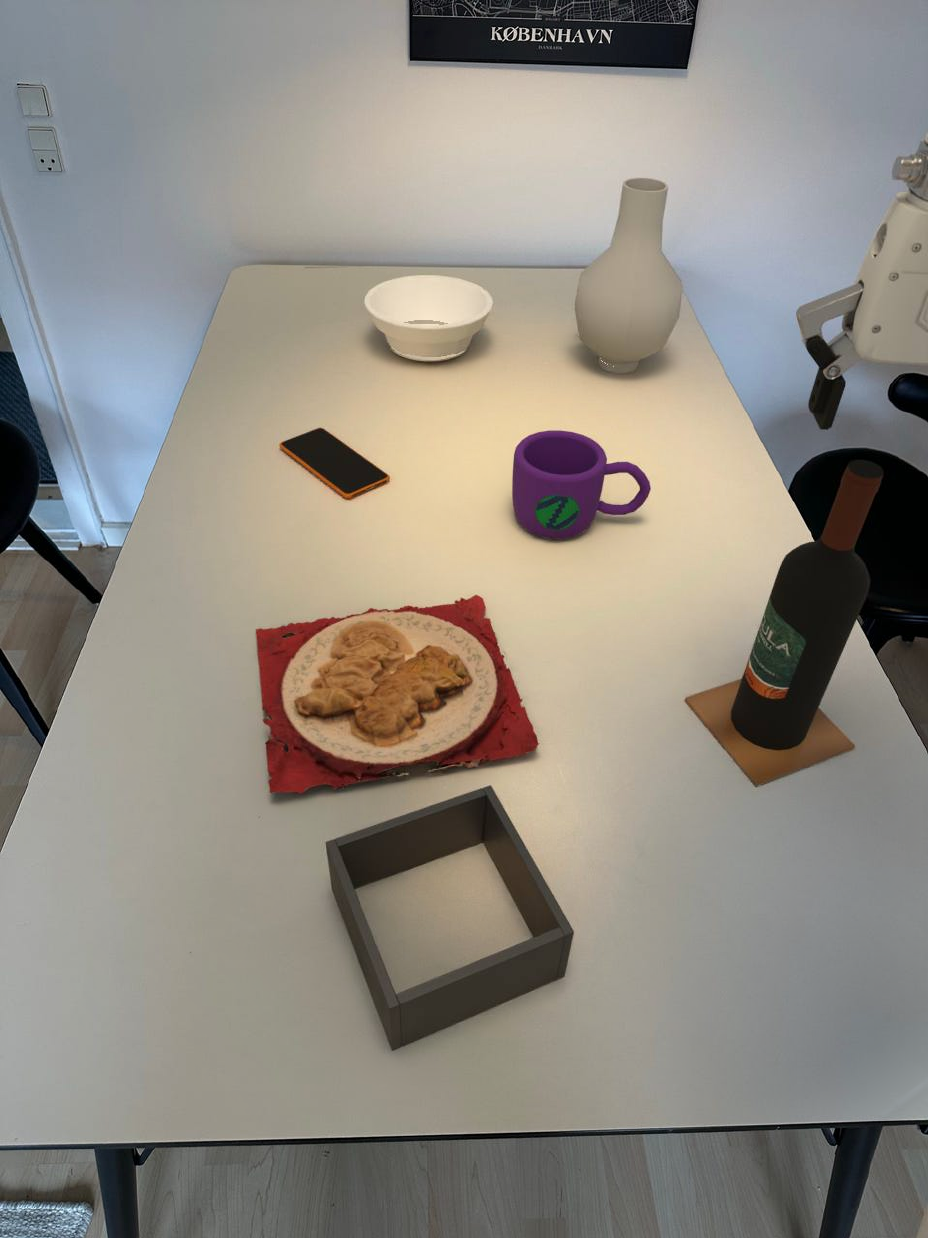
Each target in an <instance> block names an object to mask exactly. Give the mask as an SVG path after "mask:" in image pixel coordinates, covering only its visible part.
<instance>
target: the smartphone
mask: <svg viewBox="0 0 928 1238" xmlns="http://www.w3.org/2000/svg"><path fill="white" fill-rule="evenodd" d="M278 446H279V448H280V449H281V450H282V451H284V452H285V453H287V455H289V456H290V457H292V458H293V459H294V460H295V461H297V462H298V463H299V464H301V465H302V466H303V467H304V468H306V469H307V470H309V472H310V473H312V474H314V475H315V476H316V477H318V478H319V479H320V480H321V481H322V482H324V483H325V484H327V486H329V487H330V488H332V489H333V490H335V491H336V492H337V493H338V494H339V495H341V496H342V497H343V498H346V499H351V498H354V497H356V496H358V495H360V494H363V493H364V492H367V491H369V490H371V489H374V488H377V487H379V486H380V485H383V484H385V483H387V482H389V481H390V480H391V476H390V474H388V473H387V472H385V471H384V470H382V469H381V468H380V467H378V466H377V465H375V464H374V463H373V462H371V461H370V460H368V458H366V457H365V456H363V455H362V454H360V453H359V452H357V451H356V450H354V449H353V448H352V447H350V446H349V445H348V444H346V443H345V442H343V440H341V439H339V438H338V437H336V436H335V435H333V434H332V433H331V432H330V431H328V430H326V429H325V428H323V427H317V428H314V429H312V430H309V431H307V432H304V433H302V434H299V435H297V436H294V437H291V438H288V439H286V440H284V441H283V440H282V441H281V442H280V443H279V444H278Z"/></svg>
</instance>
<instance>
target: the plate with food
mask: <svg viewBox="0 0 928 1238" xmlns="http://www.w3.org/2000/svg"><path fill="white" fill-rule="evenodd" d="M486 610H487V607H486V604H485V601H484V597H481V596H480V595H478V594H475V595H472V596H471V597H469V598H467V599H465V597H460V600H458V599H456V600H454V603H447V604H439V605H432V606H425V607H419V606H412V605H404V606H401V607H400V608H396V609H388V608H383V609H378V608H377V609H376V608H373V607H370V608H368V610H367V611H364V612H362V613H355V614H354V613H353V614H349V615H346V616H345V617H334V616H331V617H330V618H327V617H322V618H317V619H315V620H314V621H312V622H310V621H305V622H296V623H294V622H290V623H288V624H287V625H281V626H278V627H273V628H272V627H270V628H261V627H260V628H255V637H256V647H257V649H256V651H257V657H258V667H259V668H258V670H259V679H260V690H261V691H260V692H261V693H260V694H261V702H262V703H261V704H262V711H264V712H265V713H266V714H267V715H268V716H269V717H270V719H269V718H263V719H262V722H263V724H265V725H267V726H269V731H270V732H269V735H270V738H268V740H266V741H265V751H266V764H267V772H268V775H269V777H270V779H269V780H268V787H269V788H268V789H269V790H268V791H269V793H271V794H272V793H282V794H283V793H294V792H295V793H297V794H303V793H304V792H305V791H306V790H308V789H310V788H312V787H313V788H314V787H317V786H321V785H328V786H331V787H332V788H333V789H334V790H337V789H338V788H344V789H345V788H346V787H348V785H349V784H355V783H358V782H361V783H364V782H366V781H376V780H379V779H384V778H388V777H393V776H395V777H398V778H401V777H403V776H409V775H410V774H411V772H410V771H407V772H402V773H401V772H399V771H398V772H397V771H395V772H390V773H383V772H384V771H388V770H391V769H395V768H398V767H403V766H406V765H407V766H410V765H416V764H418V763H421V762H422V763H428V762H437V763H436V765H437V766H438V767H436V768H430V769H429V770H427V772H428V773H433V772H436V771H438V773H442V774H444V773H445V772H444V771H445V770H447V769H452V768H457V767H458V768H459V767H463V768H464V767H467V768H468V769H470V768H473V767H478V766H479V765H481V764H483V763H484V761H486V762H491V761H495V760H501V759H507V758H512V757H519V756H522V755H526V754H528V753H533V752H534V751H535V750H536V749H537V748H538V746H539V745H540V744H541V743H540V742H539V739H538V736H537V734H536V733H535V731H534V725H533V723H532V722H531V721H530V719H529V715H528V713H527V710H526V707H525V706H522V704H521V703H522V701H523V699H522V698H521V696H520V694H519V691H518V689H517V686H516V683H515V681H514V678H513V674H512V672H511V669H510V668H509V667H507V666H506V663H505V660H504V659H505V655H504V654H502V652H501V651H500V646H499V642H498V639H497V636H496V632H495V631H494V628H493V625H492V621H491V618H488V617H483V616H484V614H485V612H486ZM288 634H294V635H292V636H291V635H290V636H287V637H283V636H285V635H288ZM277 741H278V742H277ZM285 745H286V746H287V748H288V749H287V750H288V751H286V750H285V749H284V746H285ZM442 770H444V771H442Z"/></svg>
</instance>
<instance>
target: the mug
mask: <svg viewBox="0 0 928 1238" xmlns="http://www.w3.org/2000/svg"><path fill="white" fill-rule="evenodd" d="M512 463H513V464H512V481H511V484H512V485H511V487H512V488H511V490H512V491H511V495H512V496H511V497H512V506H513V507H512V508H513V513H514V516H515V518H516V520H517V522H518V523H519V525H520V526H521V527H522V528H524V529H525V531H527V532H530V533H531V534H533V535H535V536H537V537H541V538H544V539H551V540H565V539H570V538H574V537H576V536H579V535H581V534H583V533H584V532H586V531H587V530H588V529H589V527H590V526H591V525H592V523H593V522H594V520H595V518H596V515H597V513H598V512H599V513H602V514H606V515H609V516H625V515H629V514H632V513H635V512H636V511H637V510H638V509H640V508H641V507H642V506H643V505H644V503H645V502H646V501H647V500H648V497H649V495H650V493H651V490H652V486H651V482H650V480H649V478H648V476H647V475H646V473H645V472H644V471H643V470H642V469H641V468H640V467H639V466H638V464H637V465H636V464H634V463H632V462H630V461H616V462H610V463H608V457H607V455H606V452H605V449H604V448H603V447H602V446H601V445H600V444H599V443H598V442H597V441H596V440H594V439H593V438H591V437H589V436H586V435H584V434H581V433H578V432H575V431H568V430H561V429H560V430H556V429H555V430H554V429H553V430H552V429H551V430H542V431H538V432H535V433H532V434H529V435H527V436H525V437H524V438H523V439H522V440H520V442H519V443H518V444H517V445H516V446H515V449H514V453H513V462H512ZM615 474H628V475H630V476H631V477H632V479H634V480H635V482H636V483H637V485H638V487H639V490H638V492H637V493H636V495H635V496H634V497H633V498H632V499H631V500H630V501H629V502H627V503H623V504H615V503H614V504H613V503H608V502H606V501H603V500H601V497H602V492H603V487H604V481H605V476H608V475H615Z"/></svg>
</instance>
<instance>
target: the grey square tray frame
mask: <svg viewBox="0 0 928 1238" xmlns="http://www.w3.org/2000/svg"><path fill="white" fill-rule="evenodd" d="M481 843H483V844H484V846H485V848H486V850H487V852H488V854H489V856H490V858H491V859H492V861H493V863H494V865H495V867H496V869H497V871H498V873H499V875H500V876H501V878H502V880H503V883H504V884H505V886H506V888H507V890H508V891H509V893H510V895H511V898H512V899H513V901H514V903H515V905H516V907H517V908H518V910H519V912H520V914H521V916H522V918H523V920H524V922H525V924H526V925H527V927H528V930H529V931H530V933H531V936H532V938H529V939H527V940H524V941H522V942H519V943H517V944H514V945H512V946H510V947H507V948H505V949H503V950H500V951H498V952H496V953H493V954H490V955H488V956H485V957H484V958H480V959H478V960H476V961H472V962H471V963H469V964H466V965H463V966H461V967H459V968H457V969H454V970H452V971H449V972H446V973H443V974H442V975H440V976H436V977H434V978H432V979H430V980H427V981H424V982H422V983H420V984H418V985H415V986H412V987H410V988H408V989H405V990H403V991H401V992H398V993H396V991H395V989H394V987H393V984H392V981H391V979H390V976H389V974H388V971H387V969H386V966H385V963H384V960H383V958H382V955H381V953H380V950H379V948H378V946H377V943H376V941H375V938H374V935H373V932H372V930H371V928H370V926H369V922H368V920H367V917H366V915H365V912H364V910H363V907H362V904H361V902H360V900H359V897H358V895H357V892H356V889H358V888H361V887H364V886H367V885H369V884H372V883H375V882H377V881H380V880H383V879H386V878H389V877H392V876H394V875H396V874H400V873H402V872H405V871H408V870H411V869H413V868H416V867H418V866H422V865H424V864H427V863H430V862H433V861H435V860H438V859H441V858H443V857H445V856H449V855H451V854H454V853H457V852H459V851H462V850H465V849H468V848H470V847H473V846H476V845H479V844H481ZM325 850H326V857H327V864H328V870H329V871H328V872H329V878H330V888H331V891H332V894H333V897H334V899H335V902H336V905H337V907H338V911H339V913H340V915H341V918H342V921H343V923H344V926H345V928H346V932H347V934H348V937H349V940H350V942H351V945H352V949H353V951H354V953H355V955H356V958H357V961H358V964H359V967H360V970H361V972H362V975H363V977H364V980H365V982H366V985H367V988H368V991H369V994H370V996H371V999H372V1002H373V1004H374V1007H375V1010H376V1011H377V1012H376V1013H377V1015H378V1018H379V1020H380V1024H381V1025H382V1028H383V1031H384V1033H385V1036H386V1039H387V1043H388V1044H389V1047H390V1050H391V1051H395V1050H397V1049H399V1048H402V1047H404V1046H407V1045H409V1044H411V1043H414V1042H417V1041H418V1040H421V1039H424V1038H425V1037H428V1036H430V1035H432V1034H436V1033H437V1032H439V1031H441V1030H444V1029H446V1028H448V1027H451V1026H453V1025H456V1024H458V1023H460V1022H464V1021H465V1020H467V1019H469V1018H472V1017H474V1016H476V1015H478V1014H481V1013H484V1012H486V1011H488V1010H490V1009H493V1008H495V1007H497V1006H500V1005H502V1004H504V1003H507V1002H509V1001H511V1000H513V999H516V998H518V997H521V996H523V995H525V994H527V993H530V992H532V991H534V990H537V989H539V988H541V987H545V986H546V985H549V984H550V983H553V982H556V981H557V980H559V979H561V978H564V977H565V976H566V972H567V967H568V962H569V958H570V953H571V949H572V945H573V939H574V934H575V931H574V929H573V927H572V925H571V924H570V922H569V920H568V918H567V916H566V915H565V913H564V911H563V910H562V908H561V906H560V905H559V903H558V901H557V899H556V897H555V896H554V893H553V892H552V890H551V889H550V887H549V885H548V882H547V881H546V879H545V877H544V876H543V874H542V873H541V871H540V870H539V867H538V866H537V863H536V862H535V860H534V858H533V857H532V854H531V853H530V852H529V850H528V848H527V846H526V844H525V843H524V840H523V839H522V837H521V835H520V834H519V832H518V830H517V828H516V827H515V825H514V823H513V821H512V819H511V818H510V816H509V815H508V812H507V811H506V809H505V808H504V805H503V804H502V802H501V800H500V799H499V797H498V795H497V793H496V791H495V790H494V787H493V786H492V785H491V784H490V785H487V786H484V787H481V788H478V789H474V790H471V791H469V792H466V793H463V794H460V795H458V796H454V797H452V798H449V799H446V800H443V801H439V802H436V803H433V804H432V805H431V804H430V805H428V806H425V807H423V808H419V809H417V810H414V811H411V812H409V813H405V814H403V815H399V816H396V817H394V818H391V819H388V820H385V821H381V822H379V823H377V824H374V825H371V826H368V827H365V828H362V829H359V830H356V831H353V832H350V833H348V834H347V833H346V834H344V835H341V836H339V837H335V838H333V839H329V840H327V841H325Z"/></svg>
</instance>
